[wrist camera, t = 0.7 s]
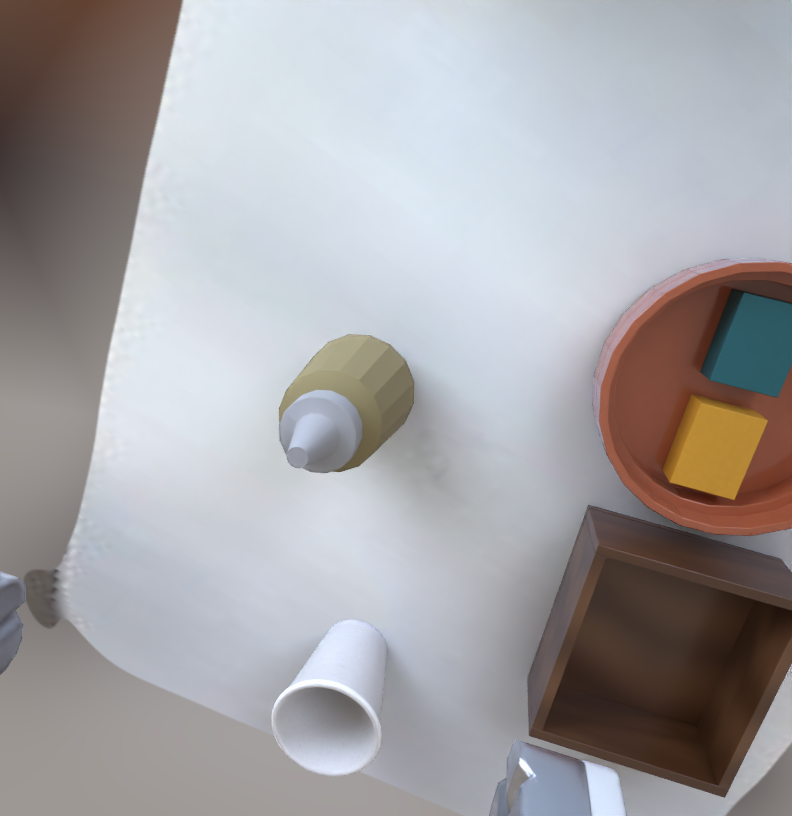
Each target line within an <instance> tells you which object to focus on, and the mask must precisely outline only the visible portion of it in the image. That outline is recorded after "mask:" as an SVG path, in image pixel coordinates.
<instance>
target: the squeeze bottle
mask: <svg viewBox="0 0 792 816" xmlns="http://www.w3.org/2000/svg"><path fill="white" fill-rule="evenodd" d="M413 404H414V381H413V378H412V375H411V373H410V370H409V368H408V365H407V363H406V361H405V360H404V359H403V358H402V357H401V356H400V354H399V353H398V352H397V351H396V350H395V349H394V348H393V347H392V346H391V345H390V344H387V343H385V342H383V341H381V340H379V339H377V338H375V337H372V336H370V335H346V336H343V337H340V338H338V339H335V340H332V341H330V342H328V343H327V344H326V345H325V346H324V347H323V348H322V349H321V350H320V351H319V352H318V353H317V354H316V355H315V356H314V357H313V358H312V359H311V360H310V362H309V363H308V364H307V365H306V367H305V368H304V369H303V370H302V372H301V373H300V374H299V375H298V376H297V378H296V379H295V380H294V381H293V383H292V384H291V385H290V386H289V388H288V389H287V390H286V392H285V395H284V397H283V400H282V402H281V405H280V407H279V435H280V442H281V444H282V446H283V449H284V451H285V453H286V455H287V460H288V463H289V464H290V465H291V466H293V467H295V468H304V469H306V470H308V471H310V472H317V473H328V472H331V471H333V472H342V471H345V470H348V469H351V468H355V467H358V466H360V465H361V464H362V463H363V462H364V461H365V460H366V459H367V458H369V457H370V456H371V455H372V454H373V453H374V452H375V451H376V450H377V449H378V448H379V447H380V446H381V445H382V444H383V443H384V442H385V441H386V440H387V439H388V438H390V437H391V436H392V435H393V434H394V433H395V432H396V431H397V430H398V429H399V428H400V427H401V426H402V425H403V424H404V423H405V421H406V419H407V417H408V415H409V412H410V410H411V408H412V406H413Z"/></svg>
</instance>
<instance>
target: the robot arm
mask: <svg viewBox="0 0 792 816" xmlns="http://www.w3.org/2000/svg"><path fill="white" fill-rule="evenodd" d="M25 587H26V584H25V583H24V582H23V581H22V580H21V579H20V578H17V577H14V576H12V575H9V574H6V573H3V572H0V674H2V673H3V672H4V671H5V670H6V669H7V667H8V666H9V664H10V663H11V661H12V660H13V658H14V657H15V655H16V654H17V651H18V649H19V646H20V642H21V639H22V632H23V623H22V622H21V620H20V618H19V616H18V614H17V612H16V609H17V608H19V607H20V606H21V605H22V604H23V603H24V602H25ZM489 816H627V813H626V808H625V803H624V798H623V793H622V788H621V783H620V778H619V775H618V773H617V772H616V770H615V769H612V768H608V767H605V766H602V765H598V764H595V763H592V762H588V761H585V760H579V759H576V758H573V757H570V756H566V755H563V754H560V753H557V752H554V751H551V750H547V749H544V748H541V747H538V746H535V745H532V744H529V743H525V742H522V741H519V740H516V741H515V742H514V744H513V746H512V748H511V750H510V753H509V755H508V758H507V778H505V779H504V780H502V781H500V782H499V783H498V786H497V789H496V792H495V795H494V798H493V801H492V805H491V809H490V814H489Z"/></svg>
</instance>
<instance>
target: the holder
mask: <svg viewBox="0 0 792 816" xmlns="http://www.w3.org/2000/svg"><path fill="white" fill-rule="evenodd" d="M791 664H792V572H791V571H790V570H789V569H788V567H787V566H786V565H785V563H784V562H783V561H782V559H779V558H776V557H772V556H769V555H765V554H762V553H758V552H754V551H751V550H747V549H744V548H740V547H737V546H733V545H729V544H726V543H722V542H719V541H715V540H712V539H708V538H704V537H701V536H697V535H694V534H690V533H687V532H683V531H679V530H676V529H672V528H669V527H665V526H662V525H658V524H654V523H651V522H647V521H644V520H640V519H637V518H633V517H629V516H626V515H622V514H619V513H615V512H612V511H608V510H604V509H601V508H597V507H594V506H590V505H589V506H588V508H587V511H586V514H585V516H584V519H583V522H582V525H581V528H580V531H579V533H578V536H577V539H576V542H575V545H574V548H573V550H572V553H571V556H570V559H569V562H568V565H567V567H566V570H565V573H564V576H563V579H562V582H561V585H560V587H559V590H558V593H557V596H556V599H555V602H554V604H553V607H552V610H551V613H550V616H549V619H548V621H547V624H546V627H545V630H544V633H543V636H542V638H541V641H540V644H539V647H538V650H537V653H536V656H535V658H534V661H533V664H532V667H531V670H530V673H529V675H528V716H529V736H531V737H535V738H538V739H541V740H544V741H547V742H550V743H554V744H557V745H560V746H563V747H566V748H569V749H573V750H576V751H579V752H582V753H585V754H588V755H592V756H595V757H598V758H601V759H604V760H607V761H611V762H614V763H617V764H620V765H623V766H626V767H630V768H633V769H636V770H639V771H642V772H645V773H649V774H652V775H655V776H658V777H661V778H664V779H668V780H671V781H674V782H677V783H680V784H683V785H687V786H690V787H693V788H696V789H699V790H702V791H706V792H709V793H712V794H715V795H718V796H721V797H725V796H726V794H727V792H728V790H729V788H730V786H731V784H732V782H733V780H734V778H735V776H736V774H737V772H738V770H739V768H740V766H741V764H742V762H743V760H744V758H745V756H746V754H747V752H748V750H749V748H750V746H751V744H752V742H753V740H754V738H755V736H756V734H757V732H758V730H759V728H760V726H761V724H762V722H763V720H764V718H765V716H766V714H767V712H768V710H769V708H770V706H771V704H772V702H773V700H774V698H775V696H776V694H777V692H778V690H779V688H780V686H781V684H782V682H783V680H784V678H785V676H786V674H787V672H788V670H789V668H790V666H791Z"/></svg>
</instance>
